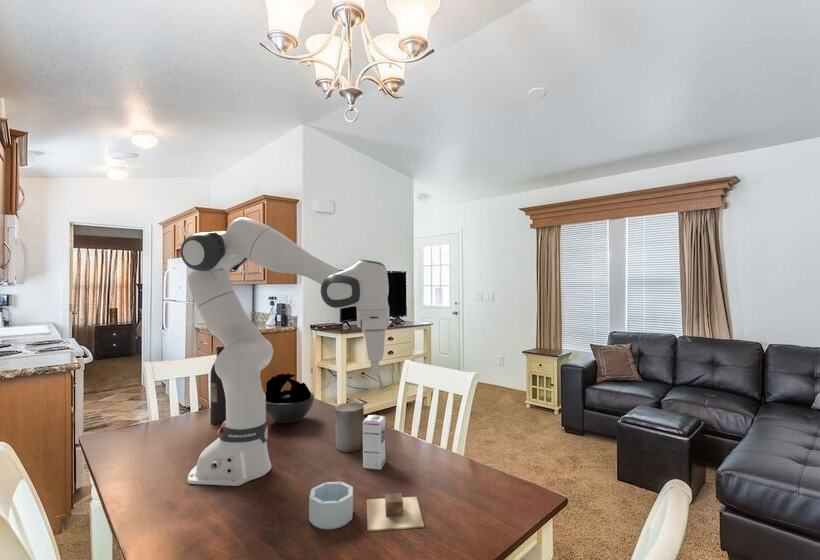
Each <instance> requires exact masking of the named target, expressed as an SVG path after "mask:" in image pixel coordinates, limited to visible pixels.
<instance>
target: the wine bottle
mask: <svg viewBox="0 0 820 560" xmlns="http://www.w3.org/2000/svg"><path fill="white" fill-rule="evenodd" d="M224 348H225V345H217V346H216V357H217V356H218V355H219V354H220V353H221V351H222V350H223V349H224ZM209 382H210V389H209V391H210V392H209V393H210V395H209V396H210V401H209V403H210V405H209V406H210V407H209V409H210V412H209V414H210V416H209V417H210V420H209V421H210V424H213V425H222V423H223V422H224V421H226V398H225V392H224V388H223V384H222V380H221V379H220V378H219V377H218V375H217V374H216V371H215V361H214V363H212V366H211V370H210V381H209Z"/></svg>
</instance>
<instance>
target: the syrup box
mask: <svg viewBox="0 0 820 560" xmlns="http://www.w3.org/2000/svg"><path fill="white" fill-rule="evenodd" d="M386 449H387V447H386V416H385V415H381V414H380V415H379V414H378V415H377V414H368V415H367V417H366V418H364V421H363V448H362V467H363V469H370V470H382V468H383V466H384V465H385V463H386V461H387V460H386V459H387V458H386V457H387V455H386Z"/></svg>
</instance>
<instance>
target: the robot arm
mask: <svg viewBox="0 0 820 560" xmlns="http://www.w3.org/2000/svg"><path fill="white" fill-rule="evenodd" d="M180 257H181V259H182V261H183V263H184V264H185V265H186V266H187V267H188V268H190V269H192V270H191V271H190V272H189V274H188V276H187V283H188V287H189V290H190V293H191V295H192V299H193V301H194V304H195V305H196V307H197V309H198V311H199V313H200V315H201V316H202V319H203V322H204V323H205V325H206V327H207V330H208V331H209V332H210V333H211V334H212V335H214V336H215V337H216V338H218V340H219V341H221V343H222V344H223V346H224V349H223V350H222V351H221V353H220V354H219V355H218V356H217V355H216V358H215V361H214V362H215V371H216V374H217V375H218V377H219V378H220V379H221V380H222V384H223V388H224V392H225V398H226V421H224V422H223V423H222V424H220V425H221V426H220V427H219V428H218V430H217V436H219V437H217V439H215V440H214V441H213V442H211V443H210V444H209V445H208V446H207V447H205V448H204V450H202V452H201V453H200V455H199V456H198V460H197V463H196V465H195V466H193V468H192V469H191V470H190V472H189V473H188V475H187V484H193V485H208V486H212V485H213V486H232V487H236V486H241V485H244V484H245V483H247V482H249V481H252V480H256V479H259V478H261V477H264V476H265V475H266V474H267V473H269V472H270V471H271V469H272V463H271V461H270V460H271V459H270V456H269V451H268V442H267V440H268V437H269V435H268V434H269V426H268V420H267V413H266V395H265V393H266V392H265V391H264V389H263V384H262V380H261V379H262V378H261V371H263V370H264V369H266V367H268V366H269V364H270V363H271V361H272V358H273V356H274V348H273V345H272V343H271V342H270V341H269V340H268V339H267V338H265V337H264V335H263V334H262V333H261V332H260V330H259V329H258V327H257V326H256V325H255V323H253V321H252V320H251V318H250V317H249V316H248V314H247V312H246V311H245V309H244V307H243V305H242V303H241V301H240V299H239V297H238V294H237V293H236V291H235V289H234V288H233V286H232V284H231V281H230V279H229V274H230V273H235V272H237V271H238V269H239V268H240V267H241V266H242V265H243V264H244V263H246V262H247V261H248V260H249V261H250V262H251V263H254V264H256V265H258V266H259V267H261V268H262V269H265V270H268V271H272V272H275V273H281V274H282V273H284V274H292V275H299V276H303V277H305V278H308V279H310V280H312V281H314V282H316V283H318V284H320V285H321V286H320V297H321V298H322V301H323V302H324V303H325V304H326V305H327V306H329V307H330V308H334V309H345V308H350V307H351V308H356V327H358V328H360V329H361V333H362V334H363V335H364V339H365V346H366V347H365V348H366V352H367V353H366V355H367V358H368V361H370V368H371V375H372V376H379V375H380V361H382V360H383V358H384V353H385V352H384V350H385V340H386V339H385V337H386V336H385V335H386V330H388V327H389V326H390V322H391V320H390V305H389V298H388V297H389V293H390V291H389V289H390V285H389V276H388V271H387V268H386V265H385V264H384V263H382V262H380V261H374V260H368V259H367V260H366V259H360V260H358V261H356V263H354V264H353V265H351V266H350V267H348V268H346V269H344V270H340V269H337V268H336V267H334V266H332V265H330V264H328V263H326V262H325V261H323V260H321V259H320V258H317V257H316V256H314V255H312V254H311V253H309V252H308V251H306V250H305V249H304V248H302V247H301V246H299V245H298V244H297V243H295V242H294V241H292V240H291V239H290V238H289V237H287V236H285V235H284V234H283V233H282V232H279V230H276V229H275V228H273V227H271V226H269V225H267V224H265V223H262V222H260V221H258V220H255V219H253V218H249V217H245V216H244V217H242V216H241V217H238V218H235V219H234V220H233V221H232V222H231V223H230V224H229V225H228V227H227V229H226V231H225V230H215V231H210V232H209V231H208V232H206V231H205V232H198V233H197V232H196V233H194V234H192V235H191V234H190V235H189V236H188V237H186V238H185V239H184V240H183V241H182V244H181V246H180Z"/></svg>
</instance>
